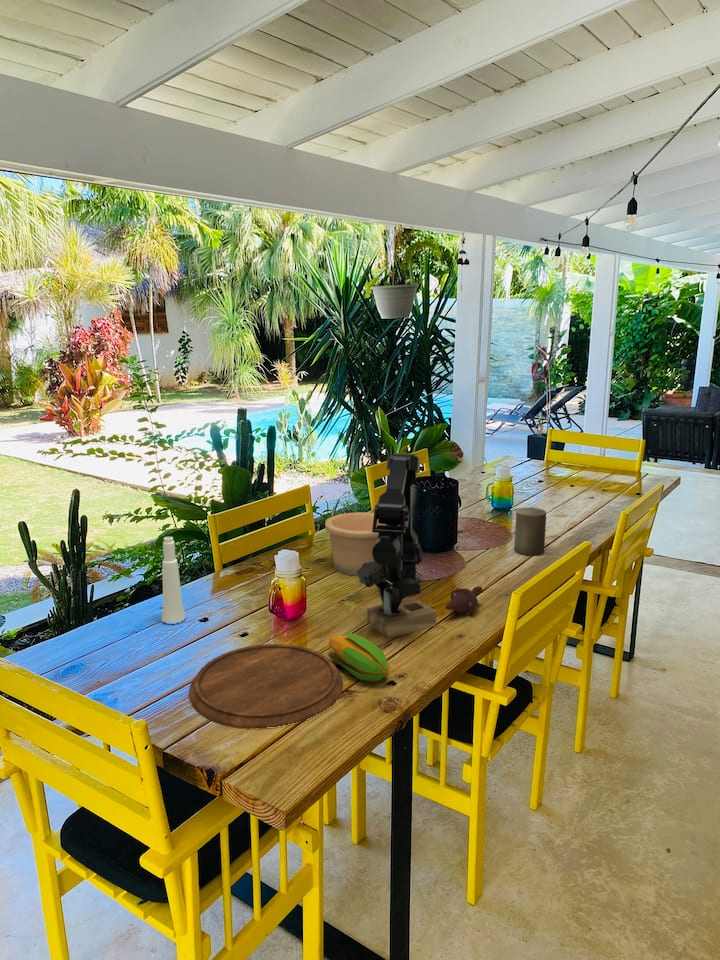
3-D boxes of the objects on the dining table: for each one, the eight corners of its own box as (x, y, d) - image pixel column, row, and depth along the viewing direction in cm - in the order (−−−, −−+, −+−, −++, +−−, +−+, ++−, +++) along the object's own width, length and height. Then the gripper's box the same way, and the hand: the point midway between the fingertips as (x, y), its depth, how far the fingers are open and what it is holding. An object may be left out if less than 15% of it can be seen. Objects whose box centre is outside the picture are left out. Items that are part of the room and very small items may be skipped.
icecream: (461, 603, 176) (494, 591, 187) (438, 588, 181) (471, 577, 192) (453, 626, 179) (486, 613, 190) (431, 611, 183) (464, 599, 194)
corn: (371, 658, 146) (316, 625, 161) (369, 693, 147) (314, 656, 162) (399, 650, 150) (342, 618, 165) (396, 684, 152) (341, 649, 167)
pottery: (314, 574, 213) (314, 528, 209) (340, 551, 233) (340, 509, 230) (384, 583, 206) (384, 536, 203) (404, 559, 226) (405, 515, 223)
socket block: (367, 622, 180) (367, 607, 179) (413, 611, 187) (413, 596, 186) (388, 638, 172) (388, 621, 171) (435, 625, 178) (436, 609, 177)
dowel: (391, 616, 179) (391, 586, 177) (397, 620, 176) (398, 590, 175) (381, 619, 178) (381, 589, 176) (387, 623, 175) (388, 593, 173)
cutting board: (374, 684, 151) (374, 673, 151) (258, 752, 128) (257, 739, 127) (273, 639, 172) (273, 629, 171) (158, 690, 149) (157, 679, 148)
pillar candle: (547, 556, 229) (550, 511, 225) (516, 556, 229) (519, 510, 226) (540, 546, 238) (543, 503, 235) (511, 546, 238) (513, 503, 235)
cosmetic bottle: (169, 627, 177) (164, 543, 172) (156, 620, 181) (151, 537, 176) (190, 619, 182) (185, 537, 176) (177, 613, 186) (172, 532, 180)
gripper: (342, 545, 177) (343, 603, 180) (382, 568, 161) (381, 632, 165) (381, 538, 182) (380, 595, 186) (423, 560, 166) (421, 621, 170)
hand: (389, 610), depth 176 cm, fingers closed on dowel, 3 cm apart
